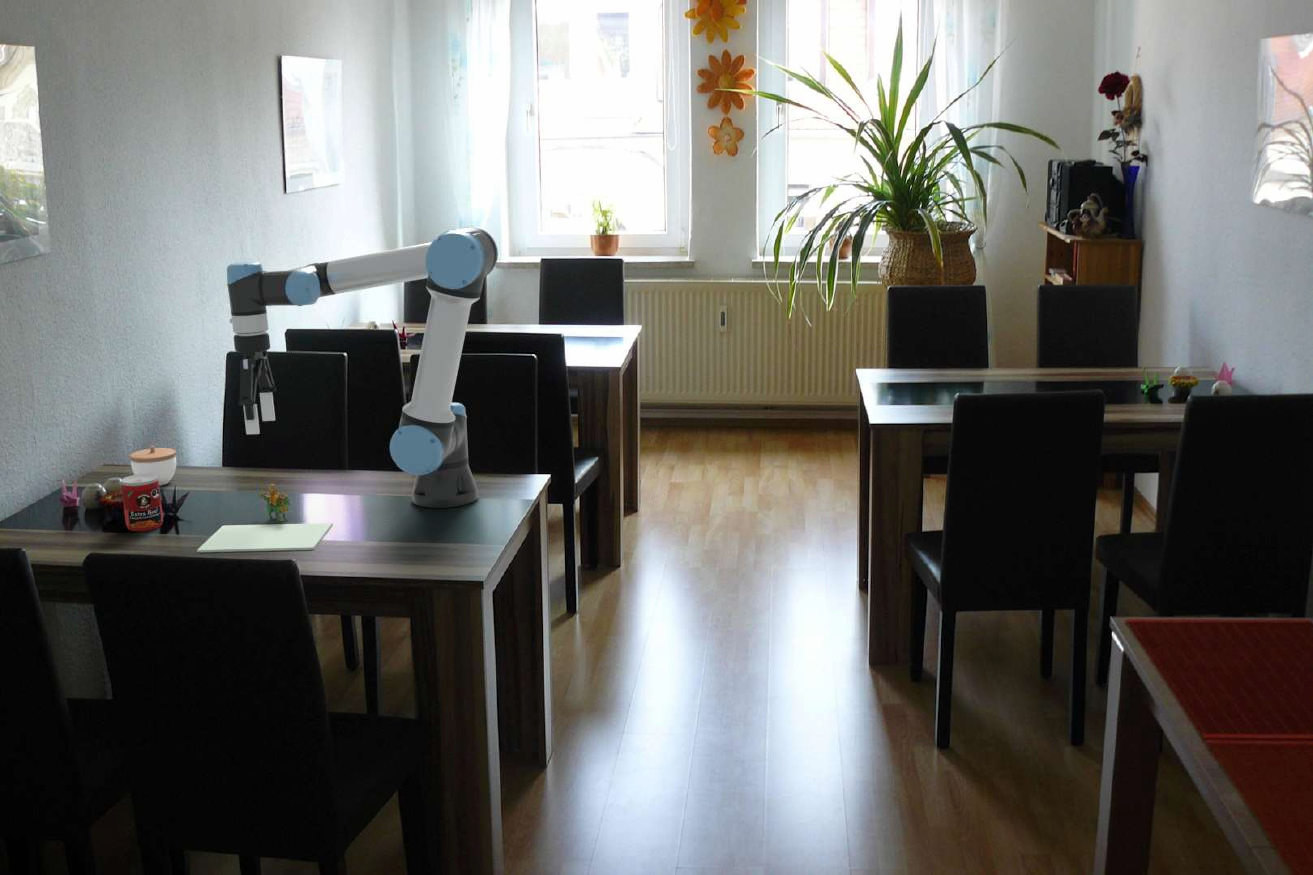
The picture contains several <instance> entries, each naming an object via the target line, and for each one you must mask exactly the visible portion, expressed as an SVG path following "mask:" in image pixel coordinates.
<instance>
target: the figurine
mask: <svg viewBox="0 0 1313 875" xmlns="http://www.w3.org/2000/svg"><path fill="white" fill-rule="evenodd" d="M271 487H273V489H271ZM268 490H269V491H268V492H260V493H259V494H258V497H260V498H261V499H263V500H264V501H266V510H267V512H268V517H269V520H270V521H271V522H272V521H274V520H275V519H277V520H278V524H281V523H283V521H285V522H287V521H288V519H286V514H285V513H286V511H287V512H292V510H291V509H289V508H288V507H290V506H291V503H290V498H289V496H288V495H287V494H286V495H285V493H284V492H282V491H281V493H280V492H279V490H278V489H276V485H275V484H274V483H271V484H269V486H268ZM267 493H268V495H267ZM276 493H277V494H276ZM273 512H274V513H275V518H273V516H272V513H273ZM280 514H282V516H280ZM281 518H283V521H281Z"/></svg>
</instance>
